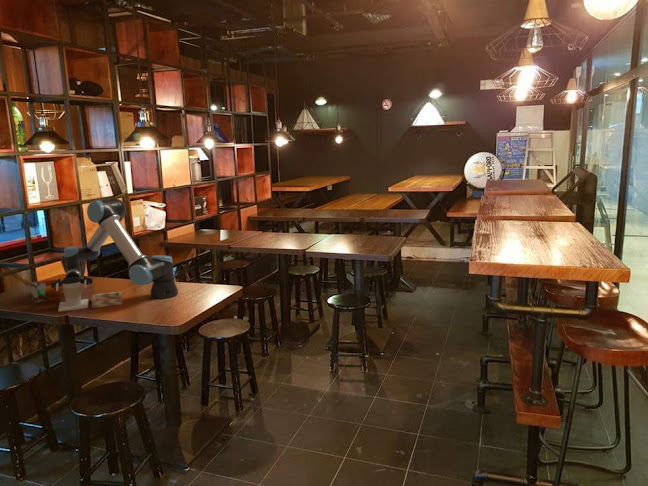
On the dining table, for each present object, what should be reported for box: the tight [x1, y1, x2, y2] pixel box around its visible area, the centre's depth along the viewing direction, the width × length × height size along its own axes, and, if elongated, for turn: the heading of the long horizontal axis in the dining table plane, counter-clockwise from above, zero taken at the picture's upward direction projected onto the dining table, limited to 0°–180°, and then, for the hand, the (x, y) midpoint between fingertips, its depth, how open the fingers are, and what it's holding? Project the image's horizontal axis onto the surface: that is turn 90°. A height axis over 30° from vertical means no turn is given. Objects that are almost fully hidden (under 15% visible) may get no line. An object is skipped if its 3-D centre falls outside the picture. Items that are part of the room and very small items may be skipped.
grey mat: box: [57, 298, 89, 312], centre depth 267 cm, size 14×14×1 cm
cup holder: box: [91, 291, 124, 309], centre depth 273 cm, size 15×15×3 cm
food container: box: [29, 281, 47, 304], centre depth 276 cm, size 12×6×10 cm, turn 47°
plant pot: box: [60, 255, 87, 278], centre depth 316 cm, size 15×15×16 cm
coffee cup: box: [62, 276, 82, 306], centre depth 265 cm, size 9×9×15 cm
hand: (71, 286), depth 262 cm, fingers open, 13 cm apart
